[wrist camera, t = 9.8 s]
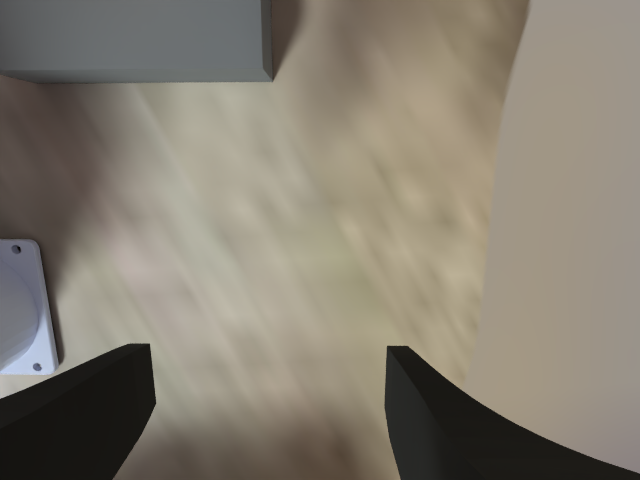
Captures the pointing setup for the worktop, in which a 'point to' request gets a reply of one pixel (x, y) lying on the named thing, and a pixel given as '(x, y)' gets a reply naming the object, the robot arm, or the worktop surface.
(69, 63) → the charcoal stand
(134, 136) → the worktop surface
